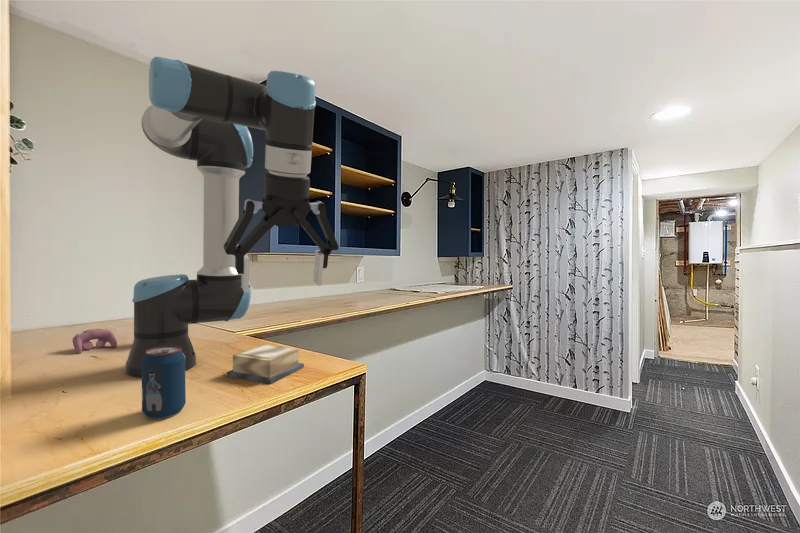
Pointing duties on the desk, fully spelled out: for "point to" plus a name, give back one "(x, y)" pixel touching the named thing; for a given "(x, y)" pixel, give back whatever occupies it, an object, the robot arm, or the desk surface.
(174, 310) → the robot arm
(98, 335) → the video game controller
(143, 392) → the soda can
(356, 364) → the desk surface
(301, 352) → the desk surface
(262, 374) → the beige square box
